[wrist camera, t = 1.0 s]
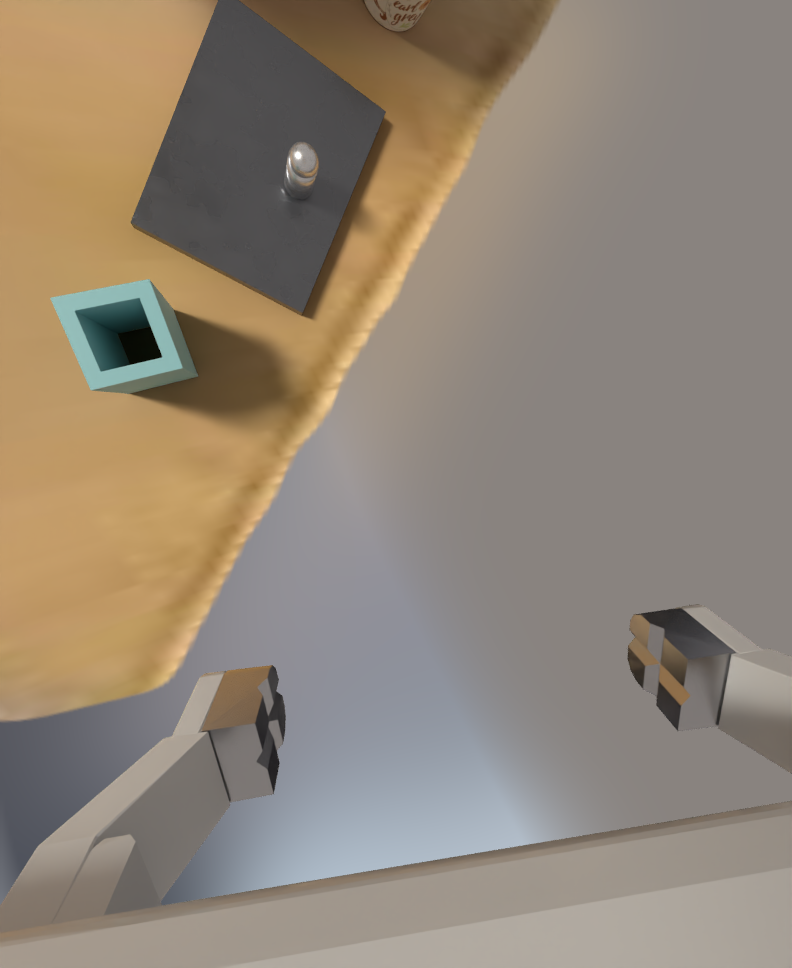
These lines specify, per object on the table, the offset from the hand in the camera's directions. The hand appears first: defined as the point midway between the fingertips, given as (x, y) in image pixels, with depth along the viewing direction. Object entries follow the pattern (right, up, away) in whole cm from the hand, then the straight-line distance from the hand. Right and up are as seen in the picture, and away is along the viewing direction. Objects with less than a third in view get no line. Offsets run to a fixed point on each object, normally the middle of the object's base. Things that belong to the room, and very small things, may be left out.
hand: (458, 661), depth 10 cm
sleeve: (-23, +16, +29) cm, 40 cm away
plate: (-13, +32, +29) cm, 45 cm away
